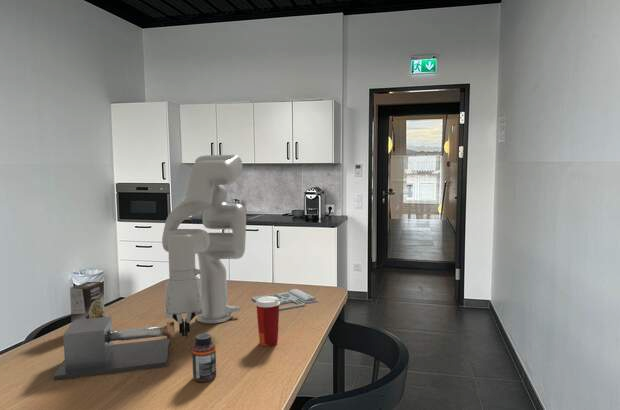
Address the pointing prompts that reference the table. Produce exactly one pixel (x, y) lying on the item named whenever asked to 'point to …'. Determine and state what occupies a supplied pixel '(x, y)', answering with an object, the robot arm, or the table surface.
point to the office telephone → (291, 298)
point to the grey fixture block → (106, 351)
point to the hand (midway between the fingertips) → (184, 334)
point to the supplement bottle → (204, 358)
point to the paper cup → (268, 320)
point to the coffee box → (87, 301)
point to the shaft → (142, 333)
